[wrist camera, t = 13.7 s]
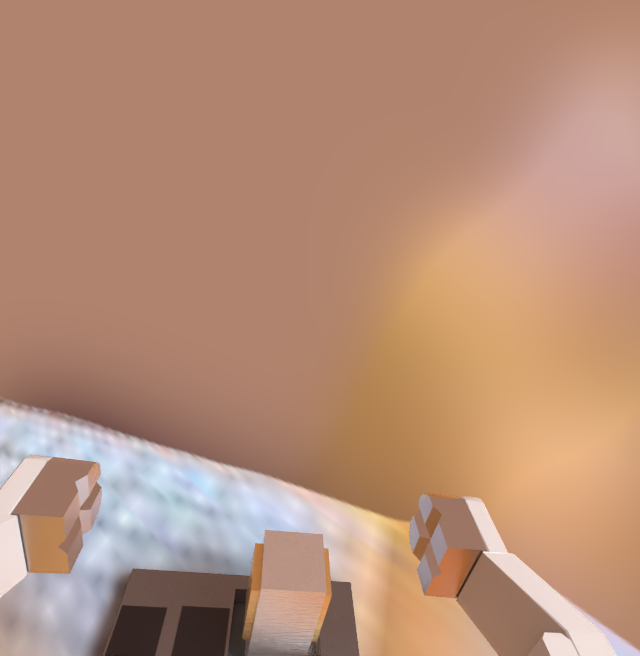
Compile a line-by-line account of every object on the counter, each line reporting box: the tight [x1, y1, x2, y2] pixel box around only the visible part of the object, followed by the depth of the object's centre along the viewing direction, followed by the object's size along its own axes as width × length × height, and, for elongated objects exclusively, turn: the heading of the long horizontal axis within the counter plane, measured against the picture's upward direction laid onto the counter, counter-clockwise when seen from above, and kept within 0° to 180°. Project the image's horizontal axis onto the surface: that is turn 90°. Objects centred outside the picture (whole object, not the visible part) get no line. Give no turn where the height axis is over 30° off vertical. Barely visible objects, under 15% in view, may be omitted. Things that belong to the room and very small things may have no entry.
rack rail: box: [102, 569, 359, 656], centre depth 35 cm, size 20×10×2 cm, turn 93°
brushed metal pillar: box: [242, 530, 332, 656], centre depth 33 cm, size 6×4×12 cm
